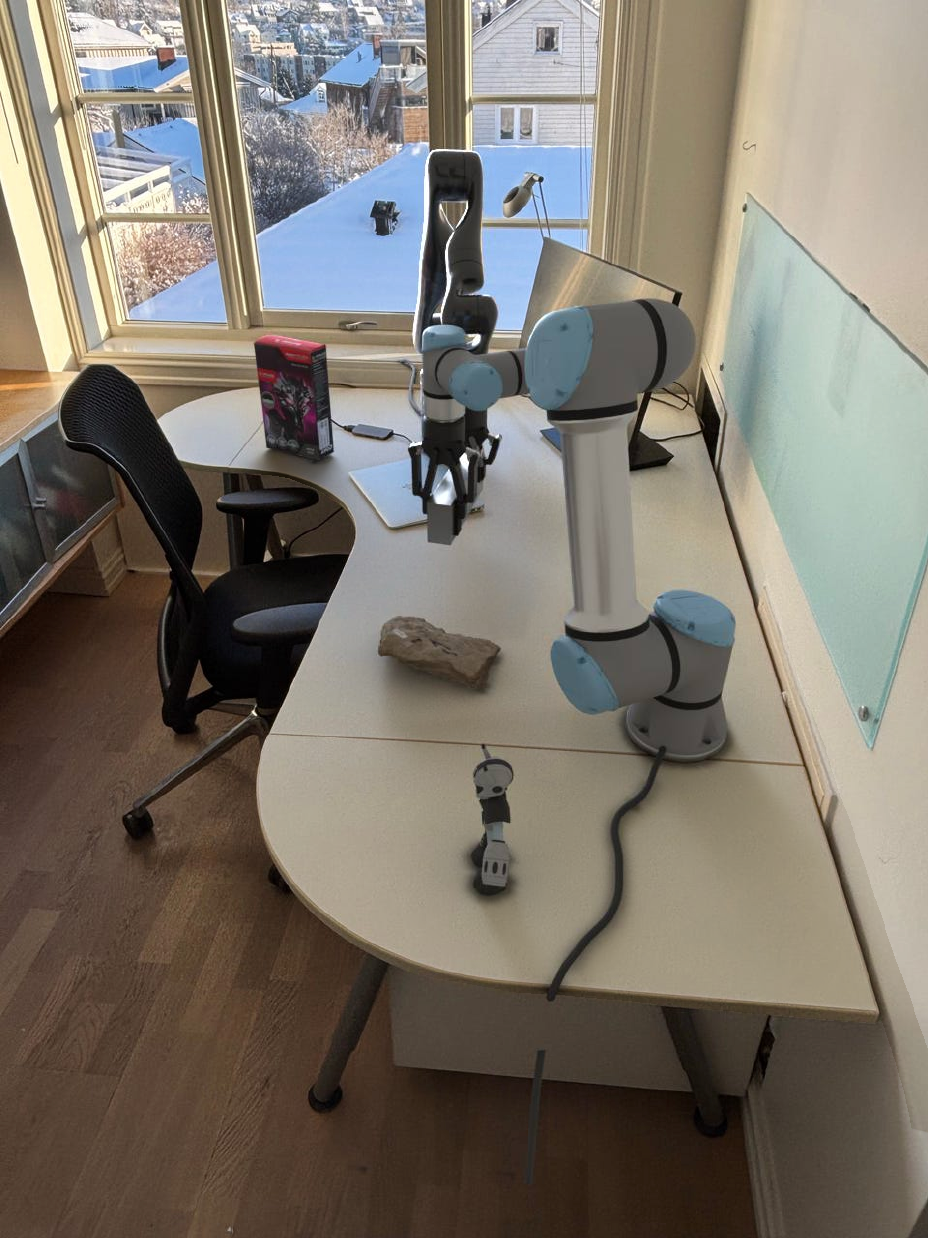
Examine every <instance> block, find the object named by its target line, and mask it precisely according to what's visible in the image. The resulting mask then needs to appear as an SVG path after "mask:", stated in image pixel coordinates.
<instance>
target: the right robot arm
mask: <svg viewBox="0 0 928 1238" xmlns="http://www.w3.org/2000/svg"><path fill="white" fill-rule="evenodd" d="M692 323H693V322H692V320H691V319H690V317H689V316H688V315H687V313H686V312H684V311H683V310H682V309H681V308H680V307H678V305H676V304H674V303H672V302H670V301H667V300H664V299H660V298H653V297H652V298H649V297H647V298H638V299H632V300H623V301H616V302H607V303H597V304H589V305H575V306H572V307H567V308H563V309H559V310H554V311H550V312H548V313H546V314H545V315H543V316H542V317H541V318H540V319H539V320H538V321H537V322H536V323H535V325H534V326H533V329H532V332H531V334H530V335H529V338H528V340H527V344H526V347H523V348H517V349H513V350H512V349H511V350H503V351H496V352H488V354H481V355H473V354H472V353H470V352H468V351H467V350H466V345H467V343H468V342H467V337H466V336H467V335H465V331H464V330H463V329H462V328H460V327H458V326H453V325H436V326H431V327H429V328H427V329H426V330H425V331H424V332H423V335H422V349H421V352H422V355H421V367H422V368H421V370H422V374H423V414H424V415H425V416H424V417H423V434H424V438H423V440H422V442H416V441H413V442H411V444H410V445H409V447H407V452H408V455H409V457H410V465H411V466H410V469H411V494H412V495H413V496H414V497H419V498H421V509H422V514H423V515H427V502H428V500H429V499H430V497H431V496H432V494H433V487H434V483H435V478H436V475H437V470H438V467H439V466H445V467H448V470H449V471H450V472H451V475H452V479H453V483H454V487H455V491H456V496H457V501H456V503H455V505H454V536H456V537H458V536H459V535H460V533H461V531H462V529H463V528H462V527H463V525H462V519H464V518H465V517H466V514H467V503H473V501H474V500H475V498H476V496H477V470H478V459H479V457H480V455H481V451H480V450H479V449H477V450H473V449H471V448H469V447H468V446H467V443H466V441H465V417H464V416H463V415H464V414H465V406H466V407H468V408H469V409H471V410H474V411H483V410H487V411H488V409H489V408H491V407H493V406H494V405H496V404H497V403H498V402H499V400H501V399H506V398H512V397H517V396H524V395H529V397H530V400H531V401H532V402H533V404H534V405H535V406H537V407H538V408H540V409H543V410H545V411H546V422H548V424H550V425H551V426H552V427H554V429H556V430H557V432H558V433H559V437H560V449H561V461H562V463H561V464H562V473H563V474H562V476H563V486H564V487H563V488H564V499H565V511H566V513H565V514H566V525H567V537H568V547H569V558H570V559H569V561H570V572H571V573H570V574H571V585H572V597H573V598H572V599H573V606H572V607H571V608H570V610H569V611H568V612H567V613H566V614H565V616H564V618H563V622H564V635H560V636H559V637H557V638H556V639H554V640H553V642H552V644H551V647H550V662H551V667H552V671H553V674H554V677H555V679H556V682H557V684H558V686H559V688H560V690H561V691H562V693H563V695H564V696H565V698H566V699H567V701H568V702H569V703H570V704H571V705H572V706H573V707H574V708H575V709H577V710H578V711H579V712H581V713H583V714H586V715H589V716H591V715H598V714H603V713H606V712H615V711H618V709H621V708H624V707H628V708H627V712H626V719H625V728H626V732H627V734H628V736H629V738H630V739H631V741H632V742H634V744H636V745H637V746H638V747H639V748H640V749H641V750H643V751H645V752H646V753H648V754H650V755H651V756H654V757H655V759H654V761H653V764H652V766H651V769H650V771H649V774H648V776H647V780H646V782H645V784H644V786H643V788H642V789H641V790H640V791H639V792H638V794H636V795H635V796H633V797H632V798H631V799H630V800H628V801H627V802H625V803H624V804H622V805H621V806H620V807H619V808H618V809H617V810H616V812H615V814H614V816H613V818H612V820H611V824H610V835H611V842H612V847H613V852H614V862H615V863H614V866H615V867H614V892H613V896H612V900H611V903H610V905H609V907H608V909H607V911H606V912H605V914H604V915H603V916H602V918H601V919H599V921H597V923H596V924H595V925H593V927H591V928H590V929H589V930H588V931H586V933H585V935H583V936H582V937H581V939H580V940H578V942H577V943H576V945H575V946H574V947H573V949H572V950H571V951H570V953H568V955H567V956H566V957H565V959H564V960H563V961H562V963H561V965H560V966H559V968H558V970H557V972H556V973H555V975H554V977H553V979H552V981H551V984H550V986H549V988H548V991H547V994H546V997H545V998H546V1001H547V1002H549V1003H551V1002H554V1001H555V999H556V997H557V994H558V992H559V990H560V987H561V985H562V982H563V980H564V978H565V977H566V974H567V973H568V971H569V970H570V968H571V967H572V966H573V964H574V963H575V962H576V961H577V959H578V958H579V957H580V956H581V954H582V952H584V950H585V948H587V947H588V945H589V944H590V943H591V942H592V941H593V940H594V939H595V938H596V937H597V936H598V935H599V934H600V933H601V932H602V931H603V930H604V929H605V928H607V926H608V925H609V924H610V922H612V920H613V918H614V916H615V915H616V913H617V912H618V909H619V908H620V907H619V906H620V903H621V900H622V896H623V890H624V855H623V848H622V845H621V844H622V843H621V840H620V835H619V827H620V826H619V825H620V822H621V820H622V818H623V817H624V816H625V814H626V813H627V812H628V811H630V810H631V809H633V808H634V807H635V806H638V804H640V803H641V802H642V801H643V800H645V798H646V797H647V796H648V795H649V793H650V792H651V789H652V787H653V785H654V784H655V781H656V777H657V775H658V771H659V769H660V767H661V765H662V761H663V760H666V761H670V762H675V763H694V762H700V761H703V760H706V759H709V758H711V757H714V755H716V754H718V752H720V751H721V750H722V748H723V747H724V744H725V743H726V740H727V739H726V738H727V733H728V721H727V716H726V712H725V708H724V707H725V706H724V701H723V692H724V686H725V682H726V678H727V674H728V669H729V664H730V661H731V655H732V652H733V647H734V644H735V642H736V641H735V640H736V637H735V632H736V627H737V626H736V617H735V616H734V614H733V612H732V610H731V609H730V608H729V607H728V606H727V605H726V604H724V603H723V602H722V601H720V600H719V599H717V598H715V597H712V596H710V595H708V594H705V593H702V592H698V591H695V590H688V589H671V590H667V591H664V592H662V593H660V594H659V595H658V596H657V597H656V600H655V602H654V603H653V607H652V608H653V611H652V612H651V613H650V612H649V611H648V609H647V608H646V607H645V606H644V605H642V604H641V603H640V602H638V595H637V594H638V593H637V578H636V577H637V576H636V562H635V561H636V560H635V559H636V558H635V547H634V546H635V542H634V541H635V540H634V525H633V508H632V493H631V475H630V474H631V473H630V458H629V441H628V440H629V439H628V425H629V423H631V421H632V420H633V419H634V418H635V416H636V415H637V414H638V412H639V405H638V403H639V401H638V394H639V395H640V394H644V393H650V392H654V391H658V390H661V389H663V388H666V387H668V386H670V385H672V384H673V383H675V382H676V381H677V380H678V379H680V378H681V377H682V376H683V375H684V374H685V373H686V371H687V370H688V368H689V367H690V365H691V364H692V361H693V359H694V356H695V353H696V345H697V337H696V333H695V328H694V326H693V324H692ZM422 449H423V450H424V451H425V452H424V451H423V450H422ZM423 452H424V453H425V454H426V456H427V457H428V458H429V460H428V465H427V471H426V475H425V480H424V483H423V472H422V471H423V470H422V469H423V468H422V467H423V465H422V453H423ZM464 453H465V454H466V456H467V461H468V462H469V464H468V494H467V492H466V488H465V483H464V479H463V475H462V471H461V462H460V458H461V457H462V456H463V454H464ZM546 1052H547V1050H546V1049H538V1050H537V1051H536V1058H535V1063H534V1064H535V1065H534V1072H533V1080H532V1089H531V1099H530V1109H529V1110H530V1111H529V1123H528V1135H527V1148H526V1149H527V1150H526V1160H525V1161H526V1162H525V1172H524V1181H523V1183H524V1186H526V1187H530V1186H532V1182H533V1174H534V1173H533V1172H534V1164H535V1154H536V1141H537V1129H538V1119H539V1109H540V1099H541V1089H542V1081H543V1073H544V1067H545V1060H546V1059H545V1058H546Z"/></svg>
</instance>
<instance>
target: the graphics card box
mask: <svg viewBox="0 0 928 1238" xmlns="http://www.w3.org/2000/svg"><path fill="white" fill-rule="evenodd" d="M253 346H254V347H253V349H254V355H255V362H256V370H257V371H256V372H257V379H258V388H259V397H260V405H261V415H262V423H263V431H264V439H265V448H266V449H270V450H274V451H279V452H281V453H282V452H283V453H287V454H292V455H295V456H300V457H303V458H308V459H312V460H317V461H320V460H323V459H324V458H326V457H328V456H330V455H332V454H333V453H334V452H335V448H334V435H333V422H332V421H333V420H332V411H331V410H332V409H331V397H330V384H329V371H328V370H329V368H328V357H327V345H326V343H318V342H313V341H308V340H302V339H297V338H291V337H287V336H282V335H276V334H271V333H269V334H266V335H263V336H261V337H259V338H258V339H256V340H255V341H253Z"/></svg>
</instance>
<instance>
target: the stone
mask: <svg viewBox="0 0 928 1238" xmlns="http://www.w3.org/2000/svg"><path fill="white" fill-rule="evenodd" d="M381 626H382V627H381V630H380V639H379V645H378V648H377V653H378V656H380V657H391V658H394V659H395V660H397V662H398V663H399V664H400V665H403V666H407V667H408V666H409V667H411V668H412V669H415V670H419V671H425V672H426V673H429V674H431V675H435V676H436V677H439V678H441V679H444V680H446V681H448V682H450V683H456V684H463V685H466V686H467V687H468V688H470V689H472V690H475V691H480V690H482V689H483V688H484V686H485V685H486V682H487V681H488V678H489V677H490V676H489V675H490V674H489V672H490V670H491V668H492V666H493V664H494V662H495V660H496V658H497V656H498V653H500V651H501V650H502V648H501V647H500V646H499V645H498V644H496V643H495V642H492V641H491V640H490V639H485V638H481V637H473V636H466V635H463V634H461V633H452V632H446V631H445V629H443V628H442V627H436V626H434V624H433V623H431V622H429V621H427V620H426V619H425V618H424V617H416V616H402V615H398V616H395V617H392V618H391V619H389V620H387V621H385V622H384V623H383V625H381Z"/></svg>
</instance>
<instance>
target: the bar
mask: <svg viewBox="0 0 928 1238" xmlns="http://www.w3.org/2000/svg"><path fill="white" fill-rule="evenodd" d="M460 462H461V471H462V475H463V479H464V483H465V488H466V492H467V494H468V464H469V462H468V461H467V456H466V454H465V453H464V454H463V456H462V457H461V458H460ZM483 489H484V480H483V481H482V482H481V483H477V496H476V498H475V500H474V501H473V503H467V514H466V517H465V518H464V519H462V526H463V525H464V523H465V521H466V519H467V518H468V516H469V515H470V512H471V511H472V509H473V507H474V506H475V504H476V503H477V501H478V499H479V498H480V495H481V494H482V492H483ZM431 495H432V496H431ZM431 495H430V496H431V497H430V499H429V500H428V502H427V514H426V526H427V527H426V528H427V531H426V532H427V535H426V536H427V537H426V539H427V543H430V544H431V543H432V544H438V545H446V546H452V544H453V543H454V541H455V539H456V537H457V536H454V505H455V503H456V501H457V496H456V491H455V487H454V483H453V479H452V475H451V472H450V471H449V469H448V471H447V472H446V473H445V475H444V477H443V478H442V479H441V481H440V482H439V484H438V485H437V487H436V488H435V489H434V491H433V492H432V493H431Z"/></svg>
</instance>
